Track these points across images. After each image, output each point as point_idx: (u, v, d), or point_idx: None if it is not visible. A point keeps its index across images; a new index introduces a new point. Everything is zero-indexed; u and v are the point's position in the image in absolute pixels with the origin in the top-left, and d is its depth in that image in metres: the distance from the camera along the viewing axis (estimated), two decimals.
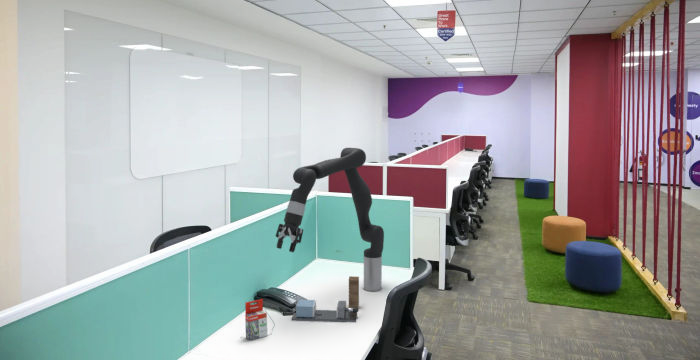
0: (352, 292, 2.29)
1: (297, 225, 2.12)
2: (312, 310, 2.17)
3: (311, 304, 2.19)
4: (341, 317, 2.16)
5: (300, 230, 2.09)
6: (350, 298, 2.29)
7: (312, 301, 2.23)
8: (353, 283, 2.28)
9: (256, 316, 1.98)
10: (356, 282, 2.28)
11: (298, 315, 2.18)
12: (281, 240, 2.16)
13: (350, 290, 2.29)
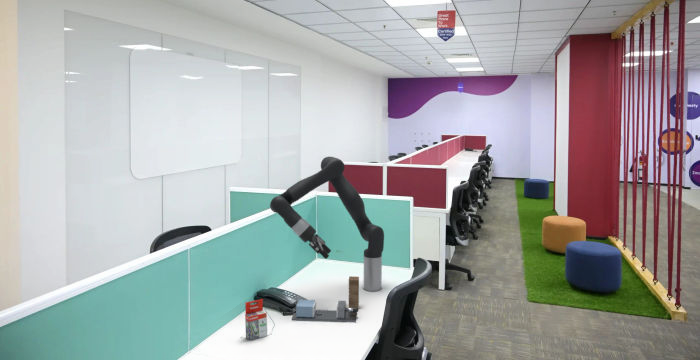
0: (352, 292, 2.29)
1: (310, 239, 2.26)
2: (312, 310, 2.17)
3: (311, 304, 2.19)
4: (341, 317, 2.16)
5: (311, 244, 2.23)
6: (350, 298, 2.29)
7: (312, 301, 2.23)
8: (353, 283, 2.28)
9: (256, 316, 1.98)
10: (356, 282, 2.28)
11: (298, 315, 2.18)
12: (324, 247, 2.33)
13: (350, 290, 2.29)
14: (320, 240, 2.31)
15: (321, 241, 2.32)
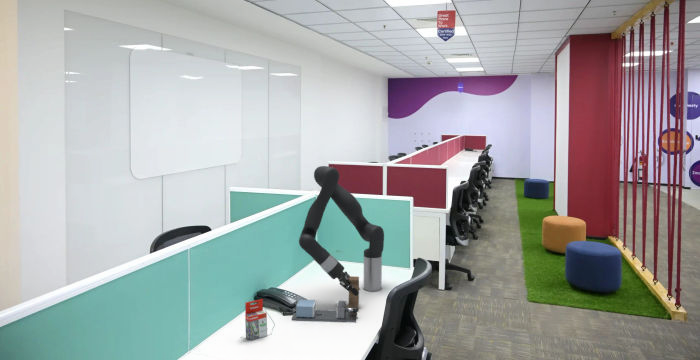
0: None
1: (338, 276, 2.27)
2: (312, 310, 2.17)
3: (311, 304, 2.19)
4: (341, 317, 2.16)
5: (342, 284, 2.24)
6: (350, 298, 2.29)
7: (312, 301, 2.23)
8: (353, 283, 2.28)
9: (256, 316, 1.98)
10: (356, 282, 2.28)
11: (298, 315, 2.18)
12: None
13: None
14: (348, 277, 2.32)
15: None
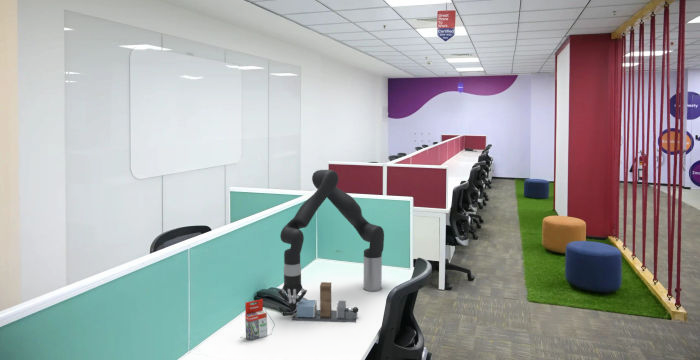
0: (324, 299, 2.18)
1: None
2: (313, 310, 2.17)
3: (312, 304, 2.19)
4: (341, 317, 2.16)
5: (305, 293, 2.20)
6: (322, 305, 2.18)
7: (313, 301, 2.23)
8: (324, 289, 2.17)
9: (256, 316, 1.98)
10: (328, 288, 2.17)
11: (299, 315, 2.18)
12: (292, 302, 2.22)
13: (321, 297, 2.18)
14: None
15: None
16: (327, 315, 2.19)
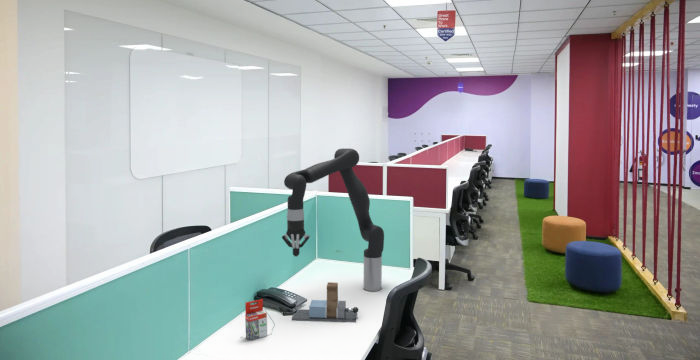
0: (331, 299, 2.17)
1: None
2: (325, 310, 2.16)
3: (324, 304, 2.19)
4: (341, 317, 2.16)
5: (308, 238, 2.25)
6: (328, 305, 2.18)
7: (325, 301, 2.22)
8: (331, 289, 2.17)
9: (256, 316, 1.98)
10: (334, 288, 2.17)
11: (311, 315, 2.17)
12: None
13: (328, 297, 2.17)
14: None
15: None
16: (334, 315, 2.18)
